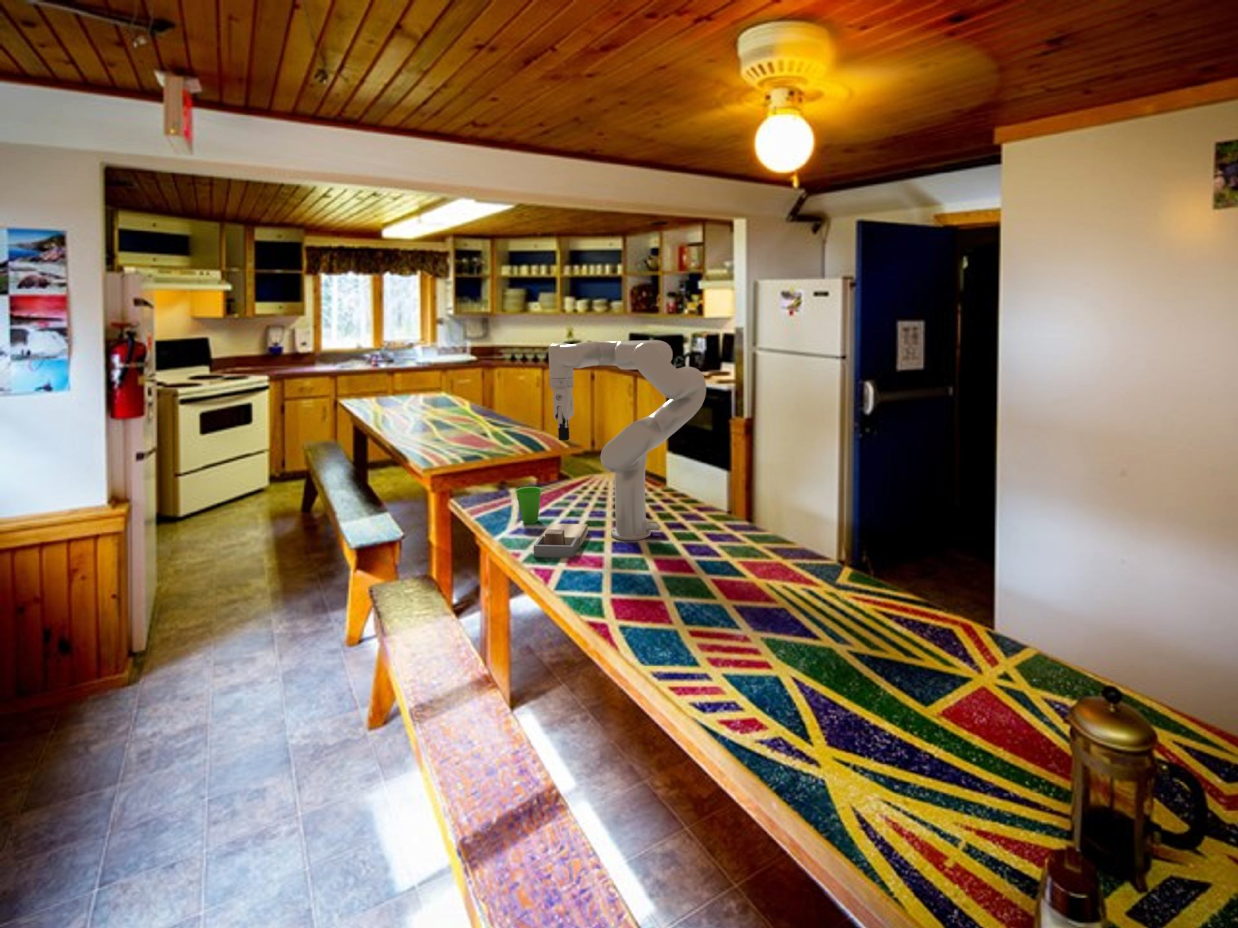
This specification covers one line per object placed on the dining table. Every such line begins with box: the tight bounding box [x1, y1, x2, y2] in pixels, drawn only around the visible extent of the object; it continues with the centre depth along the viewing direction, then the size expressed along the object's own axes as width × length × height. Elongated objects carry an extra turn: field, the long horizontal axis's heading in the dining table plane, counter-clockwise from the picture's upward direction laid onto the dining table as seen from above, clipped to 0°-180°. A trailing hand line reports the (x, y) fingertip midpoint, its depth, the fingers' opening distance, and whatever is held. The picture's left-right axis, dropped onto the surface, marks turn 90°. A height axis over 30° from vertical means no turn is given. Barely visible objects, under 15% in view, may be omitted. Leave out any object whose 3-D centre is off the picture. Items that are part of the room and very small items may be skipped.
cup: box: [514, 486, 543, 524], centre depth 243 cm, size 9×9×11 cm
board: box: [542, 523, 589, 548], centre depth 224 cm, size 12×13×3 cm
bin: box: [533, 534, 580, 559], centre depth 213 cm, size 12×9×4 cm
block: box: [545, 529, 565, 545], centre depth 215 cm, size 5×5×4 cm
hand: (564, 439), depth 232 cm, fingers closed
